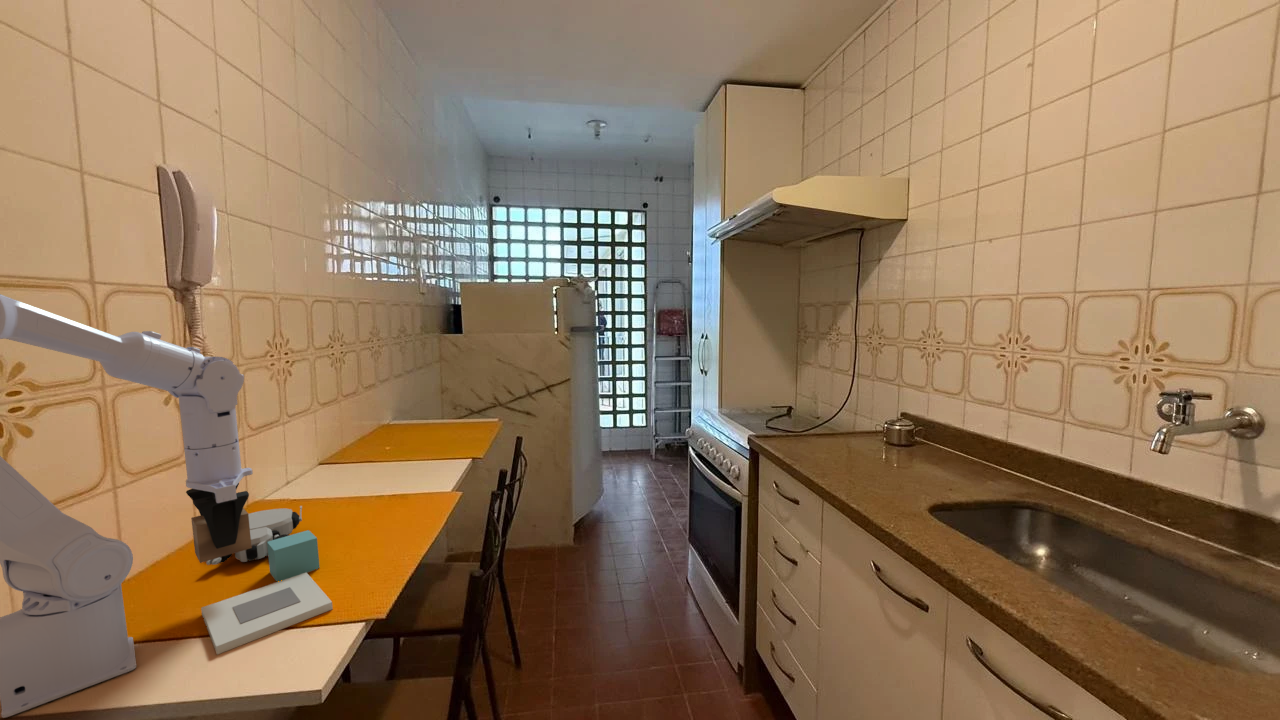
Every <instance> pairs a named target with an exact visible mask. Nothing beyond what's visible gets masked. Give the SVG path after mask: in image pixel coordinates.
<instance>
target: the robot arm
mask: <svg viewBox="0 0 1280 720" xmlns="http://www.w3.org/2000/svg"><path fill="white" fill-rule="evenodd" d="M161 338H162V334H161V333H158V332H155V331H152V330H144V331H142V332H139V331H131V332H126V333H123V334H120V335H114V334H111V333H109V332H106V331H102V330H101V329H97V328H95V327H92V326H89V325H86V324H84V323H81V322H78V321H75V320H72V319H69V318H66V317H64V316H61V315H59V314H56V313H53V312H50V311H47V310H45V309H41V308H39V307H36V306H33V305H31V304H29V303H25V302H22V301H20V300H17V299H14V298H12V297H9V296H6V295H3V294H0V340H2V339H6V340H10V341H13V342H18V343H22V344H26V345H30V346H33V347H39V348H42V349H47V350H50V351H54V352H57V353H58V352H59V353H63V354H68V355H71V356H75V357H79V358H84V359H86V360H87V359H88V360H90V361H91V360H92V361H96V362H99V364H100V365H101V367H102V368H103V370H104V372H106V374H107V375H108V376H110V377H112V378H115V379H120V380H124V381H127V382H132V383H134V384H135V383H136V384H140V385H143V386H148V387H152V388H153V389H154V388H155V389H159V390H163V391H166V392H168V393H169V394H170V395H171V396H173V397H174V398H176V399H177V398H178V405H179V415H180V422H181V433H182V441H183V447H184V448H183V451H184V458H185V459H184V460H185V468H186V469H185V470H186V477H187V478H186V480H185V486H186V488H188V490H186V491H185V493H186V495H187V496H188V497H189V498H190V499H191V500H192V504H193V506H194V507H195V508H196V509H197V510H198V512H199V514H200V515H199V516H201V515H203V517H204V519H205V521H206V523H207V526H208V529H209V532H210V535H211V538H212V541H213V543H214V545H215V547H216V548H217V549H218V548H222V547H225V546H229V545H232V544H235V543H236V540H237V535H238V528H239V521H240V516H241V513H242V510H243V508H245V505H246V503H247V501H248V498H249V496H250V493H249V492H248V490H244V491H240V492H237V489H238V487H239V486H240V485H239V484H240V482H241V481H242V479H243V478H244V477H247V476H248V477H249V476H250V475H253V473H254V472H253V468H251V467H245V468H242V460H241V451H240V442H239V430H238V421H237V410H236V407H237V405H238V394H239V392H240V391H241V389H242V387H243V384H244V383H245V375H244V374H242V373H241V372H240V370H239V369H238V366H237V365H235V364H234V362H233V361H232V360H230V359H229V358H227V357H223V356H204V355H203V354H202V352H201V349H200V348H198V347H194V346H186V347H183V346H180V345H178V344H175V343H172V342H169V341H165V340H163V339H161ZM133 556H134V555H133V551H132V549H131V547H130V546H129V545H128V544H127V543H126V542H124V541H123V540H120V539H117V538H111V537H106V536H103V535H101V534H99V532H97V531H96V530H95V529H94V528H93V527H91V526H90V525H87V524H85V523H84V522H81V521H80V520H78V519H76V518H73V517H71V516H69V515H67V514H66V513H64V512H62V511H61V510H60V509H59V508H58V507H57V506H56V505H55V504H54V503H52V502H51V501H50V500H49V499H48V498H47V497H46V496H45V495H44V494H42V492H41V491H39V490H38V489H37V488H36V487H35V486H33V484H32V483H31V482H29V481H28V480H27V479H26V478H25V477H24V476H23V475H22V474H21V473H19V472H18V471H17V470H16V469H15V468H14V467H13V466H12V465H11V464H9V463H8V461H6V460H5V459H4V458H3V457H2V456H1V455H0V566H1V570H2V577H3V579H4V582H5V583H6V584H7V586H8V587H10V588H11V589H13V590H15V591H19V592H22V595H23V599H22V603H21V609H19V610H17V611H14V612H11V613H9V614H6V615H3V616H0V705H1V713H0V714H1V718H3V719H4V718H8V717H9V718H10V717H11V716H14V715H17V714H20V713H22V712H25V711H28V710H30V709H33V708H37V707H38V706H41V705H44V704H46V703H48V702H52V701H55V700H57V699H60V698H62V697H65V696H68V695H71V694H72V693H76V692H77V691H81V690H83V689H86V688H89V687H91V686H94V685H97V684H99V683H101V682H105V681H107V680H110V679H113V678H115V677H118V676H120V675H122V674H126V673H128V672H131V671H134V670H135V669H136V668H137V659H136V652H135V651H136V650H135V645H134V637H132V636H129V635H128V630H127V628H128V627H127V622H126V621H127V620H126V613H125V606H124V597H123V591H122V588H123V587H122V583H123V582H124V581H125V579H126V578H127V577H128V575H129V574H130V572H131V570H132V566H133V564H134V557H133Z"/></svg>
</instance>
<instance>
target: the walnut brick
mask: <svg viewBox="0 0 1280 720" xmlns="http://www.w3.org/2000/svg"><path fill="white" fill-rule="evenodd" d="M248 514H249V512H247V511H246V509H245V507H243V510H242V513H241V516H240V521H239V528H238V535H237V540H236V543H235V544H232V545H229V546H225V547H222V548H218V549H217V548H216V547H215V545H214V543H213V541H212V538H211V535H210V532H209V529H208V526H207V523H206V521H205V519H204V517H203V515H197V516H193V517H191V528H192V529H191V530H192V536H193V545H194V553H195V555H196V558H197V559H198V561H199V563H200V564H202V563H206V562H207V561H209V560H212V559H216V558H219V557H222V556H226V555H229V554H232V555H233V554H235V553H236V552H240V551H243V550H247V549H250V548H252V546H251V536H250V526H249V516H248Z"/></svg>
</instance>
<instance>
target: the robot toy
mask: <svg viewBox="0 0 1280 720" xmlns="http://www.w3.org/2000/svg"><path fill="white" fill-rule="evenodd" d="M302 510H303V505H300V506H299V513H298V512H296V511H293V509H292V508H286V507H285V508H273V509H264V510H259V511H255V512H251V513H248V516H249V526H250V536H251V546H252V548H250V549H247V550H243V551H240V552H236V553H234V557H235V558H236V560H239V561H240V562H242V563H245V562H248V560H249V561H254V559H255V560H259V559H263V558H265V556H266V557H268V547H267V542H268V541H272V540H275V539H279V538H282V537H286V536H289V535H291V533H292V532H293V530H296V529H297V527H298V525H300V522H302V521H303V518H302ZM232 556H233V554H229V555H226V556H222V557H219V558H216V559H212V560H209V561H205V563H206V565H207V566H210V565H212V566H213V565H219V564H223V563H225V562H226V561H227V560H228V559H230V558H232Z"/></svg>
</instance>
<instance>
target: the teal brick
mask: <svg viewBox="0 0 1280 720" xmlns="http://www.w3.org/2000/svg"><path fill="white" fill-rule="evenodd" d="M318 545H319V544H318V538H317V536H315V534H314V533H312V531H311V530H309V529H308V530H304V531H300V532H297V533H293V534H288V536H286V537H282V538H279V539H275V540H272V541H268V542H267V547H268V556H267V557H268V565H269V566H268V567H269V573H270V575H271V576H272V577H273V580H275V581H277V582H278V581H281V580H285V579H288V578H291V577H294V576H297V575H300V574H303V573H306V572H307V573H310V572H312V571H316V570H319V569H320V557H319V547H318ZM318 568H319V569H318ZM315 569H316V570H315Z"/></svg>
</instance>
